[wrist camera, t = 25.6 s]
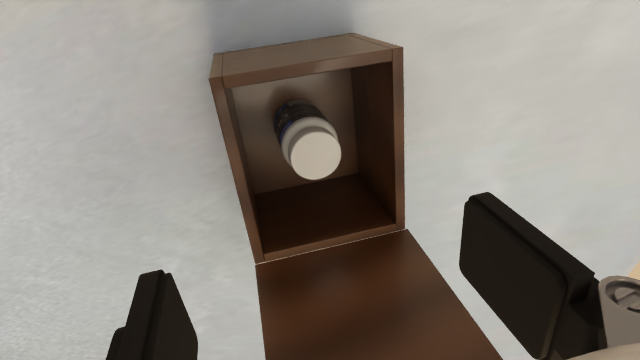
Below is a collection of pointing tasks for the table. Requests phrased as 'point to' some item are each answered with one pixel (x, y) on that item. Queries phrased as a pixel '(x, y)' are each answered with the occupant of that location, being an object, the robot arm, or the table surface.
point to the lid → (365, 306)
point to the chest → (351, 128)
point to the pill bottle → (307, 139)
